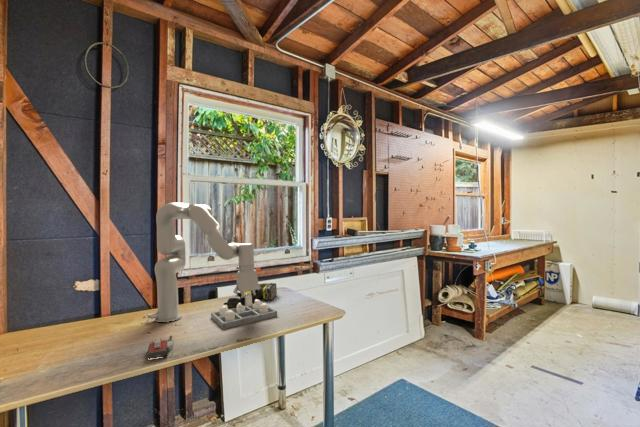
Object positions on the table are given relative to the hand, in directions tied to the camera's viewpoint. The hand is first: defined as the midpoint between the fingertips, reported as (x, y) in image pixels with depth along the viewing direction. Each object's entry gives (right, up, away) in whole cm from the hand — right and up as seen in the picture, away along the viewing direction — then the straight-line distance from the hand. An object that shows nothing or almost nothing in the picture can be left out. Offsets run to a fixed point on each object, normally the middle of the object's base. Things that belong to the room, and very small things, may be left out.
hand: (247, 303), depth 158 cm
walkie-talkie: (-27, -10, -32) cm, 43 cm away
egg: (0, -1, 0) cm, 1 cm away
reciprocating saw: (-3, -8, +32) cm, 33 cm away
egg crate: (-3, -8, +4) cm, 9 cm away
